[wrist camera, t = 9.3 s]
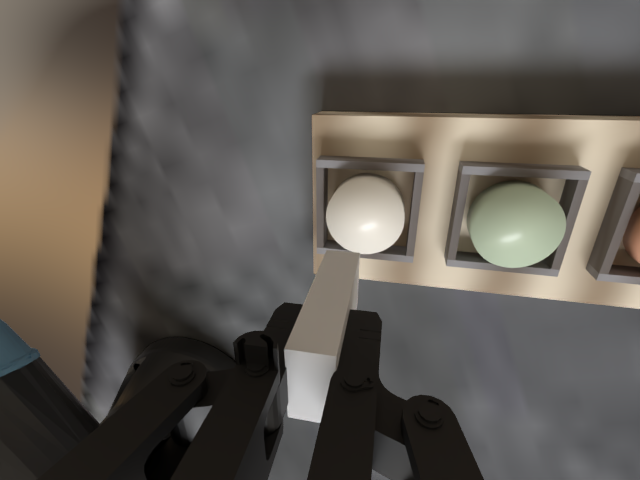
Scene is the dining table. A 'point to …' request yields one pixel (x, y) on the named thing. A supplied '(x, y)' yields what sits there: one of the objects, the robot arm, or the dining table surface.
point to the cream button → (366, 213)
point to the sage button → (515, 224)
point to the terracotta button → (633, 236)
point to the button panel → (477, 175)
